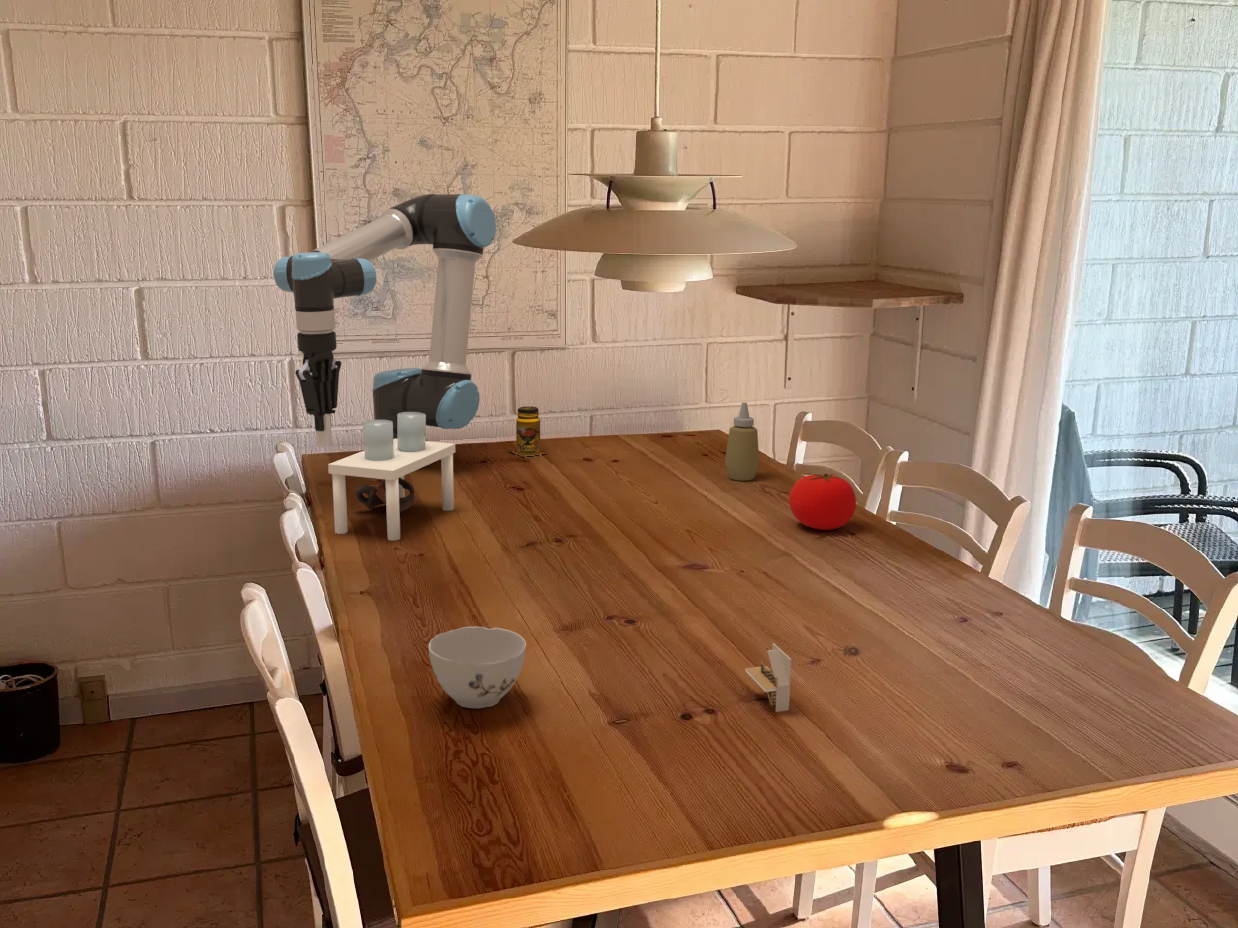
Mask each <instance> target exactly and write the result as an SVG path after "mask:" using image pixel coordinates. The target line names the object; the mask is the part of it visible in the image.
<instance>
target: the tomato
mask: <svg viewBox="0 0 1238 928" xmlns="http://www.w3.org/2000/svg"><path fill="white" fill-rule="evenodd" d="M788 500H789V501H788V502H789V503H788V504H789V507H790V511H791V513H792V514H793V516H794V517H795V518H796V519H797V521H798V522H799V523H801V524H802V525H804V526H806V527H807V528H808V527H809V528H810V529H811V528H812V529H815V530H819V531H829V530H835V529H839V528H841V527H844V526H845V525H846V524H847V523H849V521H850V520H851V518H852V517H853V515H854V514H855V511H856V508H857V498H856V493H855V491H854V489H853V487H852V485H851V484H850V482H848V481H847V480H846V479H845V478H842V477H839V476H836V475H835V474H834V473H833V474H828V473H822V474H810V475H806V476H803V477H801V478H799V479H798V480H797V481H796V482H795V483H794V485H793V486H792V489H791V490H790V493H789V496H788Z"/></svg>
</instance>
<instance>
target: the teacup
mask: <svg viewBox="0 0 1238 928" xmlns="http://www.w3.org/2000/svg"><path fill="white" fill-rule="evenodd" d="M526 651H527V641H526V640H525V638H523V636H521V635H520V634H519V633H518V632H515V631H512V630H509V629H505V628H500V627H493V628H488V627H485V626H464V627H460V628H456V629H451V630H449V631H448V630H447V631H445V632H442V633H437V634H436V635H435V636H434V637H433V638H431V639H430V641H429V643H428V654H429V661H430V662H429V663H430V665H431V668H432V671H433V674H434V677H435V679H436V680H437V682H438V684H439V685H440V688H442V689H443V691H444V692H445V693H446V694H447V695H448V696H449V697H450V698H452V699H453V700H454V701H455V703H456V704H457V705H458V706H460V707H463V708H468V709H477V710H478V709H484V708H489V707H490V708H491V707H493V706H495V705H497V704H499V702H500V701H501V699H502V698H503V697H505V696H506V695H507V694H508V693H509V691H511V689H512V687H513V686H514V684H516V681H518V678H519V676H520V674H521V671H522V668H523V666H524V660H525V657H526Z"/></svg>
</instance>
